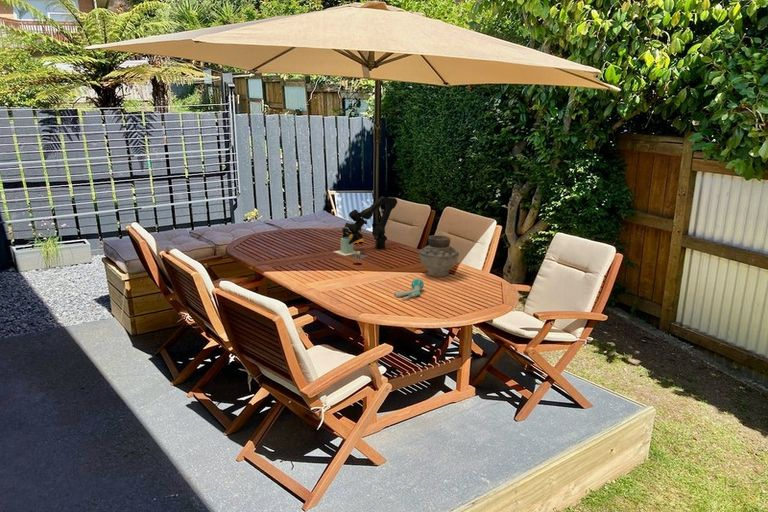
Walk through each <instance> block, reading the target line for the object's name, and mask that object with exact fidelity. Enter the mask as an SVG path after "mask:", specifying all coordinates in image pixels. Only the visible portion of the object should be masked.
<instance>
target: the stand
mask: <svg viewBox="0 0 768 512" xmlns="http://www.w3.org/2000/svg"><path fill="white" fill-rule="evenodd" d="M356 251H357V254H351V255H350V256H349V258H354V259H360V260H361V259H364V258H367V257H368V256H369V255H367V254H361V251H360V250H356Z"/></svg>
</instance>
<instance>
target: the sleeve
mask: <svg viewBox="0 0 768 512" xmlns="http://www.w3.org/2000/svg"><path fill="white" fill-rule="evenodd" d="M351 239H352V238H350V237H345V238H342V237H340V250H341V252H342V253H345V254H347V253H353V250H354V244H353V243H351V244H349V242H350V240H351Z"/></svg>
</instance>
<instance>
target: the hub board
mask: <svg viewBox="0 0 768 512" xmlns="http://www.w3.org/2000/svg"><path fill="white" fill-rule="evenodd" d="M357 251H358V250H355V249H353V253H347V254H345V253H342V252H341V249H340V250H334V251H333V253H332V254H334V253H336V254H337V255H338V254H339V255H341V256H349V255H350V256H352V255H354V254H357Z"/></svg>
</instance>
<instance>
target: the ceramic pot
mask: <svg viewBox="0 0 768 512" xmlns="http://www.w3.org/2000/svg"><path fill="white" fill-rule="evenodd" d="M427 240H428V245H426V246H424V247H423V248H422V249H420V250H419V251H418V258H419V261H420V263H421V265H422V266H423V268H425V269H426V270H427V275H428V276H431V277H436V278H437V277H445V276H449V273H450V270H451V269H452V268H453V267H454V266H455V265H456V263H457V262H458V259H459V255H460V252H459V251H458V250H456V249H455V248H454V247H453V246H451V245H450V243H451V237H450V236H449V235H448V236H447V235H438V234H437V235H435V234H434V235H429V236H428V239H427Z"/></svg>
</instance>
